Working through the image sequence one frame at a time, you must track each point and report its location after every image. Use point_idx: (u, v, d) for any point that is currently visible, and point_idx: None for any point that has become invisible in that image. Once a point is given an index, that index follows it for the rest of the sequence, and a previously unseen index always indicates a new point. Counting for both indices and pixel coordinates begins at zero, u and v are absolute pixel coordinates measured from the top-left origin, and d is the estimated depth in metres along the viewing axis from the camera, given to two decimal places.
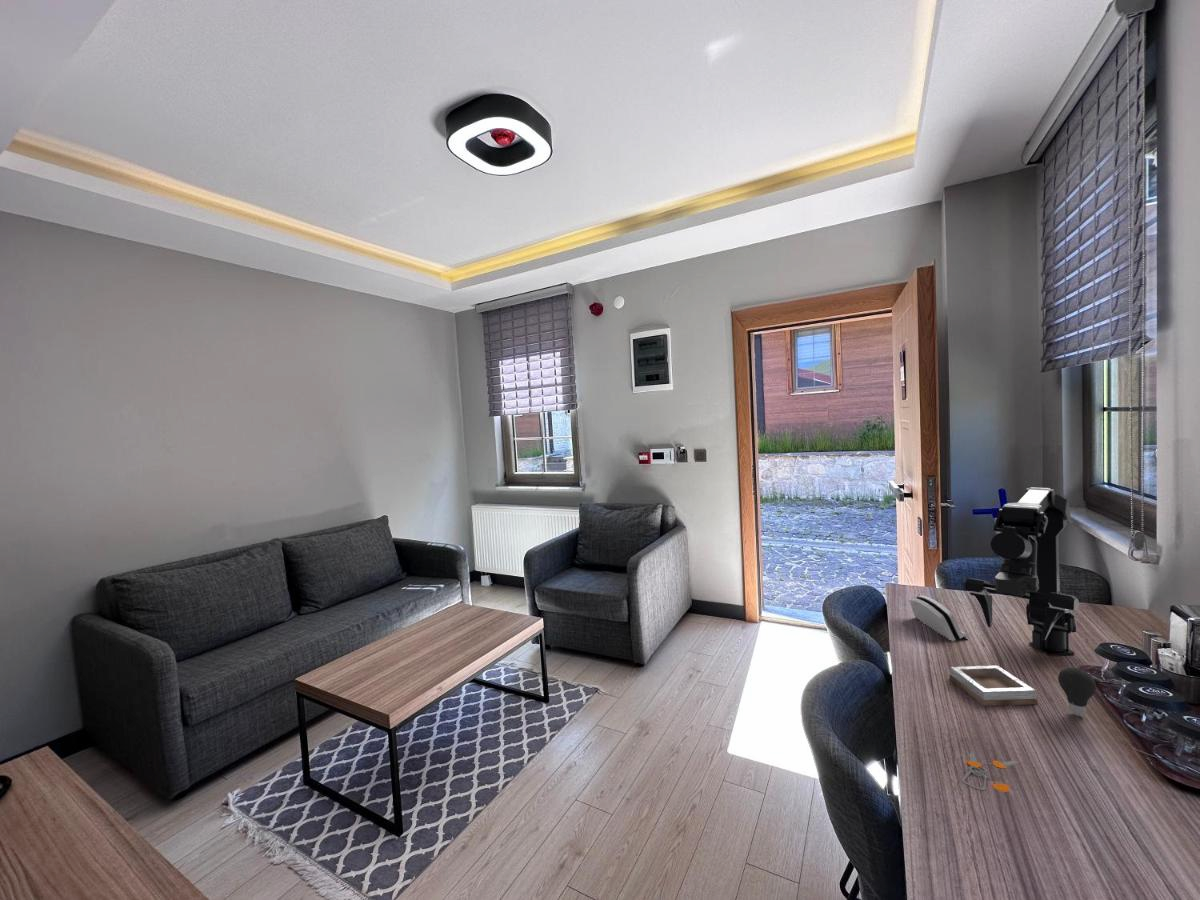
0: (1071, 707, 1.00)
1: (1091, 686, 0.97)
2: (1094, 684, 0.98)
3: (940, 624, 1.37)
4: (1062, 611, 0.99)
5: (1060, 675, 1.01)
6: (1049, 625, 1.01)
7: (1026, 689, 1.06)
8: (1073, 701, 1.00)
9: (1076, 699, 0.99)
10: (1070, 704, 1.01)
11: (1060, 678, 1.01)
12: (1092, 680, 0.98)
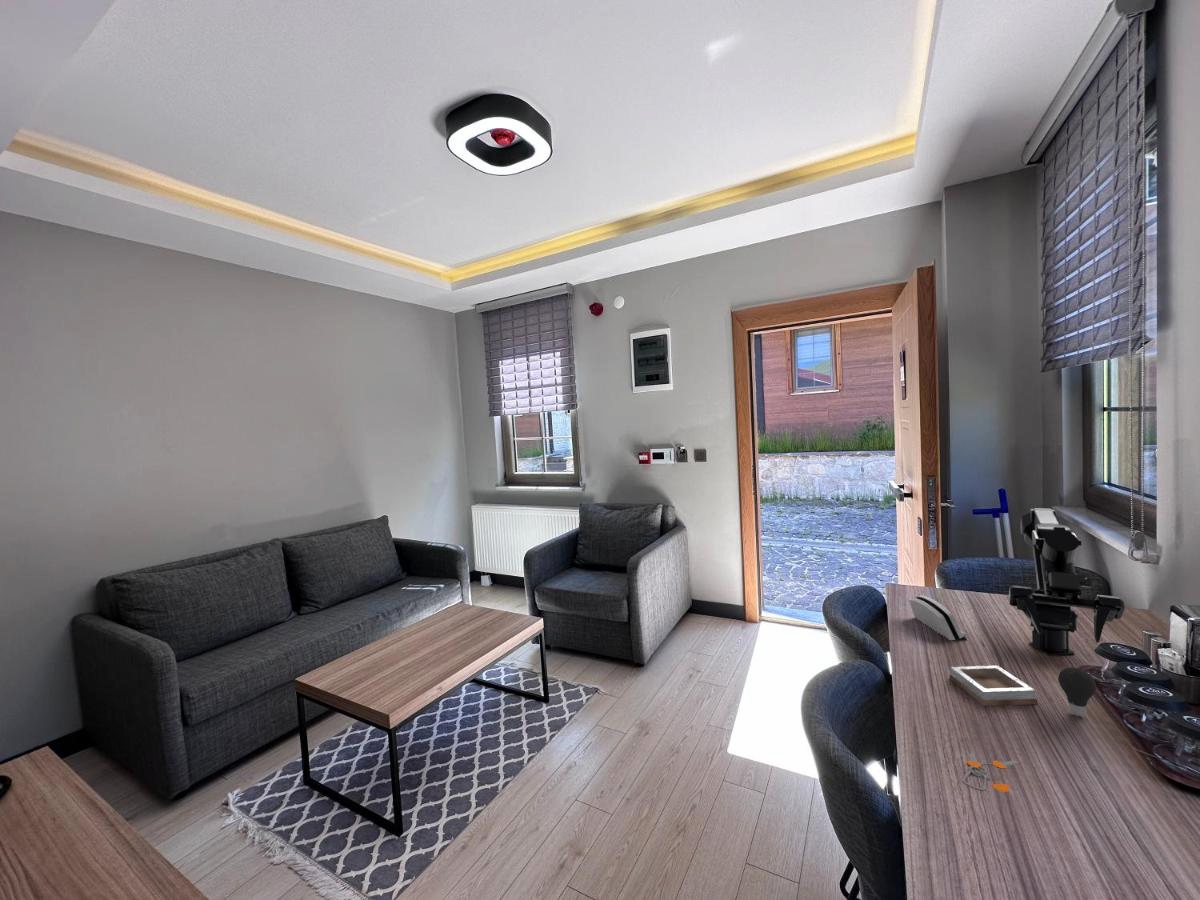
0: (1071, 707, 1.00)
1: (1091, 686, 0.97)
2: (1094, 684, 0.98)
3: (940, 624, 1.37)
4: (1114, 609, 1.04)
5: (1060, 675, 1.01)
6: (1102, 626, 1.04)
7: (1026, 689, 1.06)
8: (1073, 701, 1.00)
9: (1076, 699, 0.99)
10: (1070, 704, 1.01)
11: (1060, 678, 1.01)
12: (1092, 680, 0.98)
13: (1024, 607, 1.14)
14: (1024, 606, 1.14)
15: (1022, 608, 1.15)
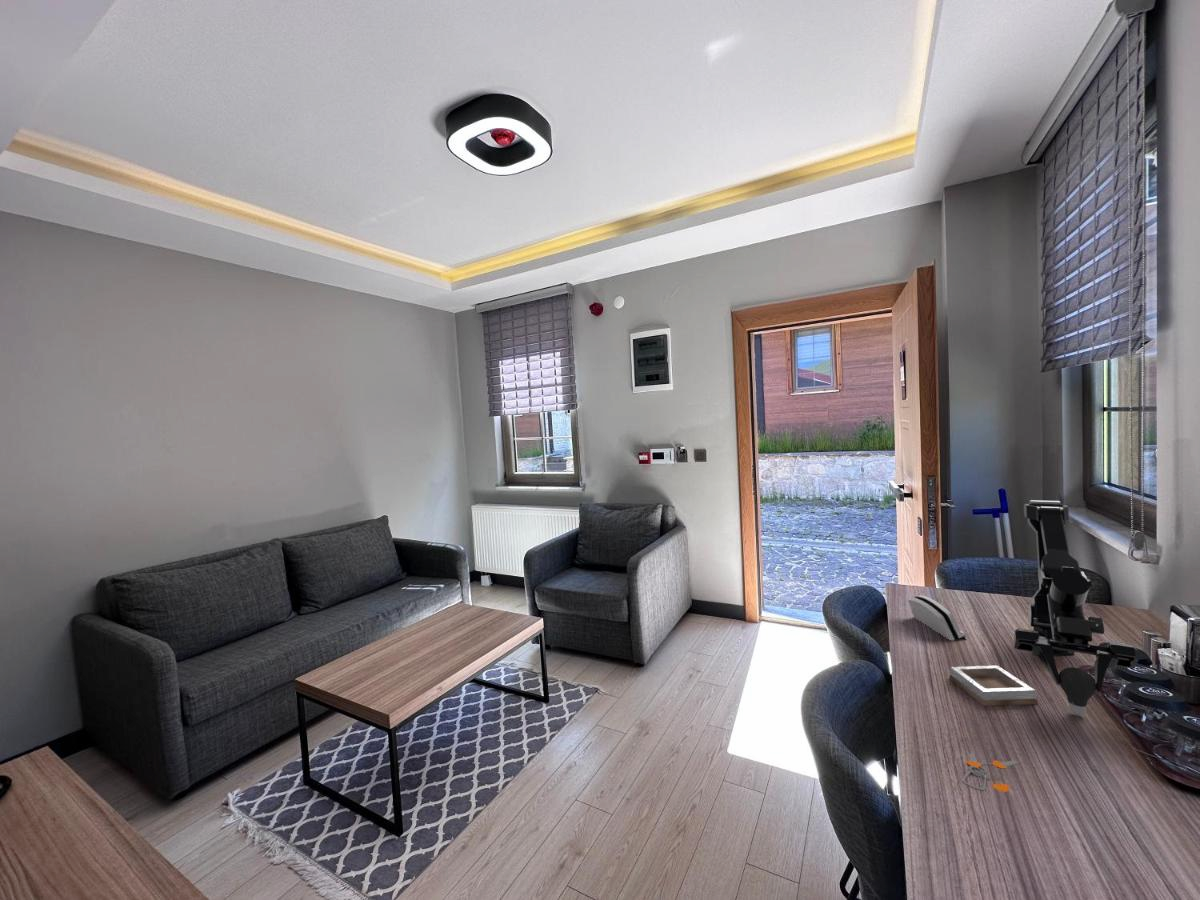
0: (1071, 707, 1.00)
1: (1091, 686, 0.97)
2: (1094, 684, 0.98)
3: (939, 624, 1.38)
4: (1116, 657, 0.97)
5: (1060, 675, 1.01)
6: (1103, 674, 0.98)
7: (1026, 689, 1.06)
8: (1073, 701, 1.00)
9: (1076, 699, 0.99)
10: (1070, 704, 1.00)
11: (1060, 678, 1.01)
12: (1092, 680, 0.98)
13: (1040, 653, 1.06)
14: (1040, 652, 1.06)
15: (1038, 654, 1.07)
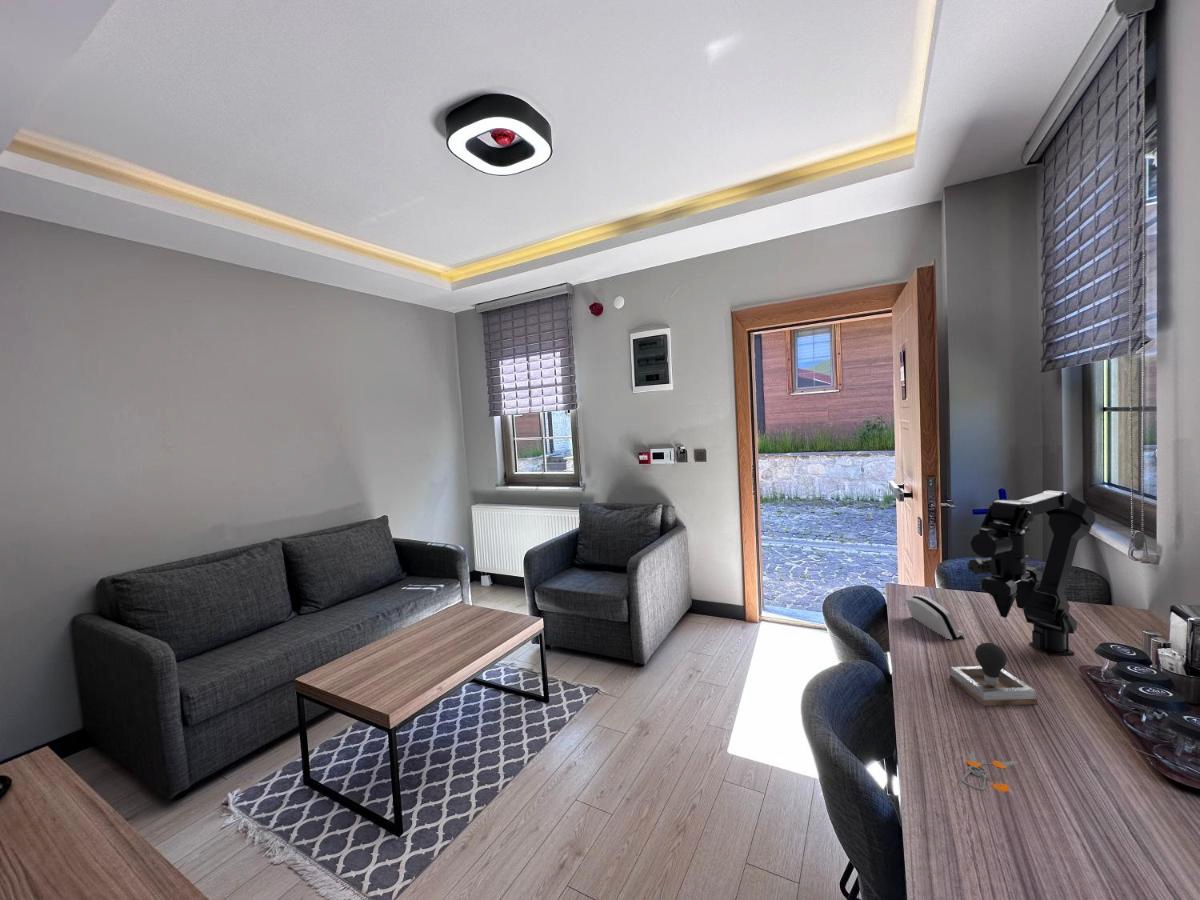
0: (984, 677, 1.11)
1: (995, 658, 1.08)
2: (1001, 658, 1.08)
3: (937, 623, 1.38)
4: None
5: (976, 648, 1.13)
6: None
7: (1026, 689, 1.06)
8: (984, 671, 1.11)
9: (985, 669, 1.10)
10: (984, 674, 1.12)
11: None
12: (1000, 654, 1.08)
13: None
14: None
15: None
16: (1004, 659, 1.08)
